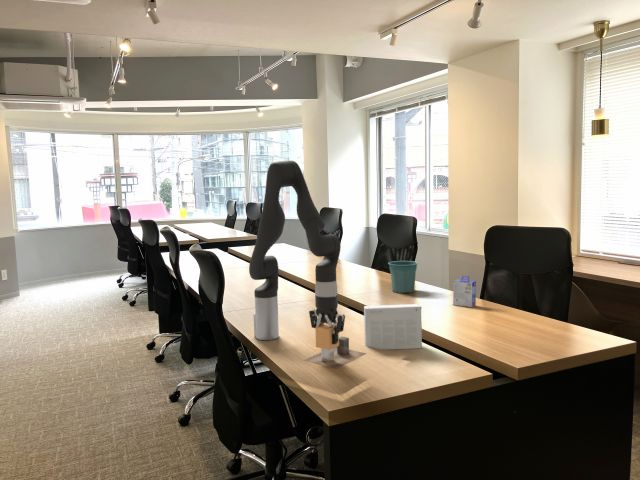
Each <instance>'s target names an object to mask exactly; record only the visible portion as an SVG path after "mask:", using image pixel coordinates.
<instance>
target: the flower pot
mask: <svg viewBox="0 0 640 480" xmlns="http://www.w3.org/2000/svg"><path fill="white" fill-rule="evenodd" d="M387 264H388V266H389V272H390V280H391V290H392V292H394V293H397V292H398V293H397V294H399V293H400V294H405V293H408V294H409V293H414V291H415V287H416V286H415V285H416V276H417V275H416V274H417V269H418V268H417V267H418V262H417V261H413V260H397V261H396V260H395V261H389V262H388V263H387Z"/></svg>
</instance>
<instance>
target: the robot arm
mask: <svg viewBox="0 0 640 480" xmlns="http://www.w3.org/2000/svg"><path fill="white" fill-rule="evenodd" d="M307 185H308V184H307V182H306V179H305V176H304V174H303V171H302V169H301V168H300V165H299V163H298V162H297V161H294V160H278V161H274V162H271V163H270V164H269V167H268V169H267V173H266V181H265V191H264V199H263V204H262V205H263V206H262V209H261V210H262V211H261V215H260V219H259V224H258V230H257V234H256V235H257V236H256V240H255V245H254V247H253V251H252V254H251V258H250V260H249V265H248V266H249V268H248V273H249V276H250V278H251V279H252V280H254V281H261V280H265V281H264V282H263V283H262V284H261V285H259V286H258V287H256V288H255V289H254V291H253V292H254V294H253V295H254V310H255V311H254V314H253V337H254V338H256V339H257V340H260V341H273V340H276V339H278V338H279V337H280V332H279V327H280V326H279V305H278V304H279V303H278V300H279V299H278V291H279V262H278V259H277V258H276V256H274V255H267V253H268V251H269V250H270V249H271V248H272V247H273V245H275V244H276V242H277V241H278V240H279V239H280V238H281V236H282V234H283V231H284V227H285V223H286V215H285V212H284V210H283V207H282V205H281V203H280V200H279V199H280V198H279V197H280V191H281V189H282V188H287V187H292V189H293V190H294V191H295V193H296V195H297V196H296V215H297V218H298V220H299V222H300V223H301V225H302V227H303V229H304V232H305V235H306V240H307V244H308V248H309V251H310V252H311V253H312V255H314V256H315V257H323V259H322V261H321V262H319V263H317V264H316V265H315V286H314V296H315V297H314V298H315V301H314V302H315V304H314V305H315V308H316V309H315V308H314V309H311V310H309V312H308V314H309V319H310V320H309V321H310V325H311V328H313V329H315V330H316V327H317V326H320V325H324V324H325V323H326V324H328V325H329V327H330V328H331V331H332V333H333V334H332V344H337V342H338V333H339V334H340V333H341V332H343V331H344V327H345V319H346V315H345V314H339V311H338V304H339V303H338V301H339V300H338V283H337V265H338V263H339V258H340V254H341V245H342V244H341V242H340V239H339V237H338V236H337V235H336V234H334V233H332V234H331V233H328V234H321V232H322V231H323V230H324V229H325V224H326V223H325V221H324V220H323V218H322V216H321V214H320V212H319V211H318V209H317V207H316V205H315V204H314V202H313V199H312V197H311V194H310V191H309V187H308V186H307ZM334 327H335V329H334Z"/></svg>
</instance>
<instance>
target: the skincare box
mask: <svg viewBox="0 0 640 480" xmlns="http://www.w3.org/2000/svg"><path fill="white" fill-rule="evenodd" d="M363 318H364V319H363V320H364V322H363V323H364V347H367V348H372V349H377V350H380V351H381V350H382V351H386V350H409V349H412V350H413V349H416V350H417V349H423V341H422V339H423V336H422V335H423V334H422V333H423V331H422V330H423V328H422V327H423V326H422V324H423V323H422V305H420V303H414V304H413V303H411V304H406V303H405V304H382V305H364V306H363Z"/></svg>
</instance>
